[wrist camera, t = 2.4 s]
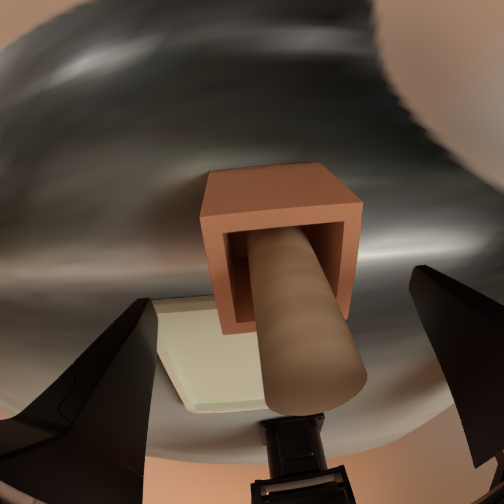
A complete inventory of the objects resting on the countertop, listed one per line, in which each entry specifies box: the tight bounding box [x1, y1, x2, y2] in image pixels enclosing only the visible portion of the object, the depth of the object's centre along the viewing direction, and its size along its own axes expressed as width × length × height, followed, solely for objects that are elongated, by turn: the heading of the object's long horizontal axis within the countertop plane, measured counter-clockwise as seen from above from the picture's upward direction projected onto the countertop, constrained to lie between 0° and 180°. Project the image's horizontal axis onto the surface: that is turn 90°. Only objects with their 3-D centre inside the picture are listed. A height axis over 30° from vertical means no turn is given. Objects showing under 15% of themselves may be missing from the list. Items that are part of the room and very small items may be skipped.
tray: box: [152, 295, 269, 414], centre depth 19 cm, size 12×9×1 cm
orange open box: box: [199, 162, 363, 335], centre depth 12 cm, size 5×5×5 cm
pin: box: [245, 225, 367, 416], centre depth 10 cm, size 2×2×9 cm
